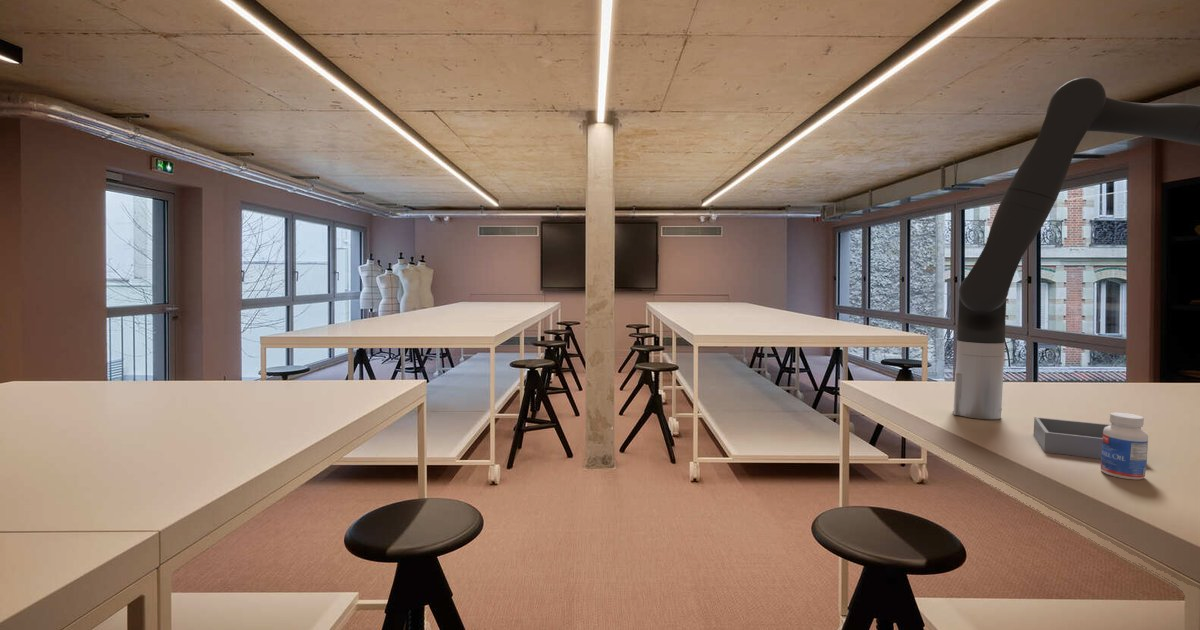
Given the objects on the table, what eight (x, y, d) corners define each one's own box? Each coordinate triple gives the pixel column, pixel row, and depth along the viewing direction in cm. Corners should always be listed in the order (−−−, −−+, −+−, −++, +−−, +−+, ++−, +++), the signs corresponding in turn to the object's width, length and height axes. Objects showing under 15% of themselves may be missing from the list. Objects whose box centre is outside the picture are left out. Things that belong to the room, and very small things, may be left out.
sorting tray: (1044, 451, 106) (1045, 432, 106) (1033, 434, 118) (1034, 417, 118) (1146, 464, 99) (1147, 443, 99) (1124, 444, 111) (1125, 426, 111)
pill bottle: (1091, 469, 97) (1094, 411, 96) (1121, 468, 97) (1124, 411, 96) (1123, 481, 91) (1127, 419, 91) (1155, 480, 92) (1159, 418, 91)
